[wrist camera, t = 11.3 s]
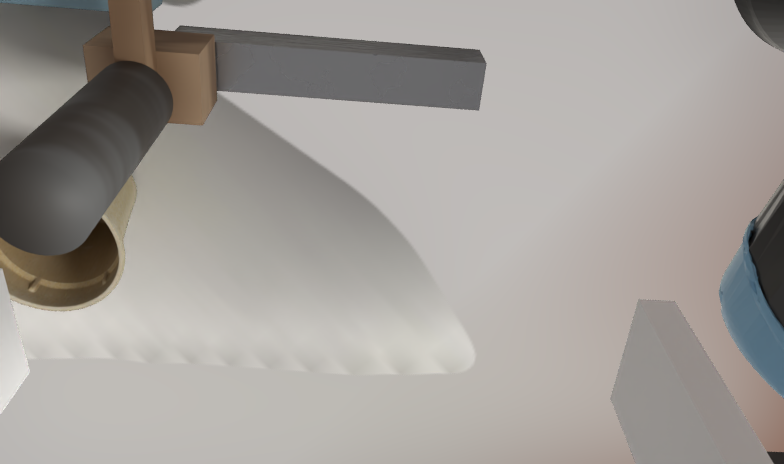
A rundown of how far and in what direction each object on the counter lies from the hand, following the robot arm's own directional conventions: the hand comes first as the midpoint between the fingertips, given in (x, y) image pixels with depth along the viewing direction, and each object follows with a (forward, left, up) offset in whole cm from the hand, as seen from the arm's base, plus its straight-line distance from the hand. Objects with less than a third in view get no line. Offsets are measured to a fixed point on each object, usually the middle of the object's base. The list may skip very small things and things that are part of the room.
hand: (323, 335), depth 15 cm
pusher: (+10, +4, -32) cm, 34 cm away
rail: (-1, +4, -32) cm, 33 cm away
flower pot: (+6, +21, -33) cm, 40 cm away
